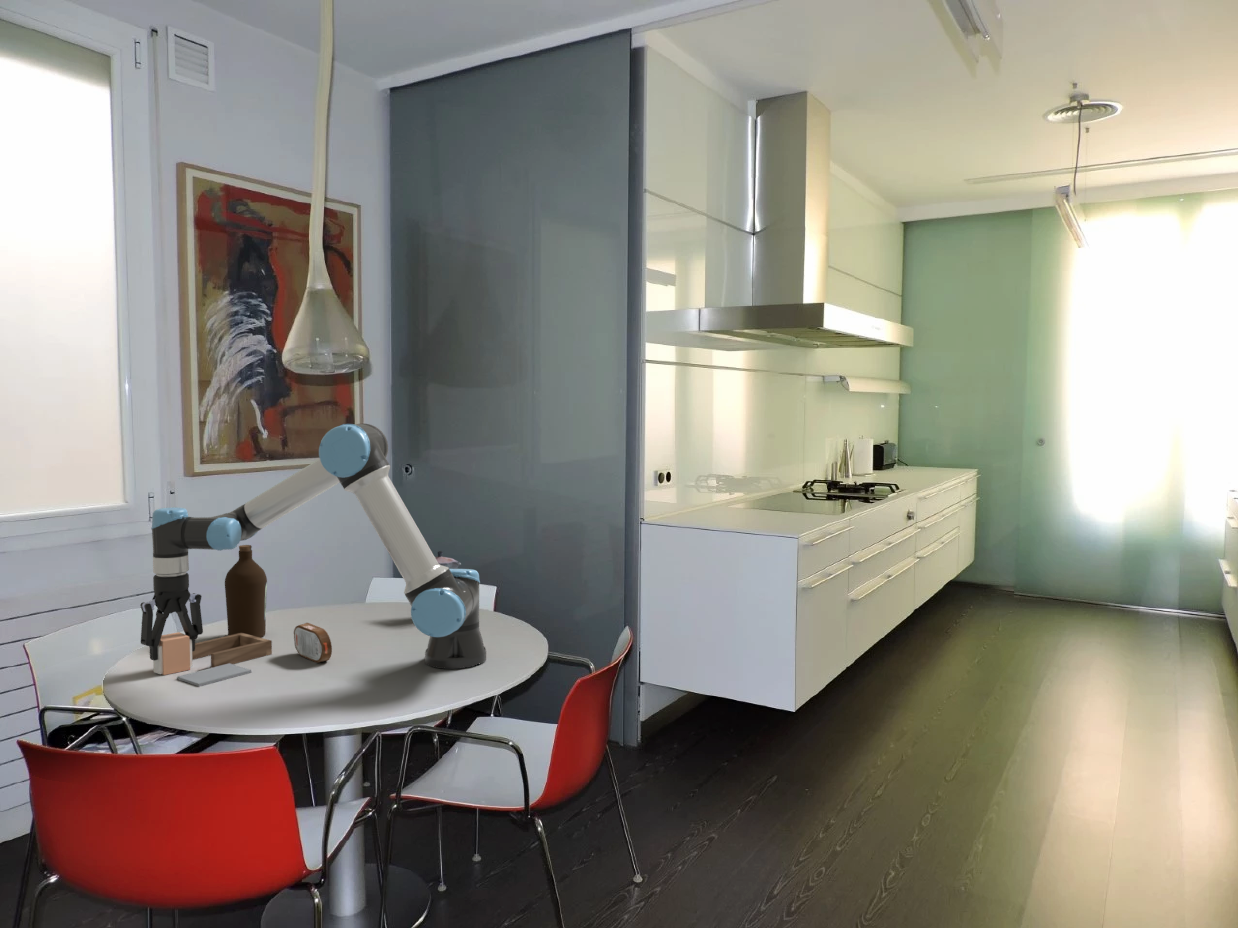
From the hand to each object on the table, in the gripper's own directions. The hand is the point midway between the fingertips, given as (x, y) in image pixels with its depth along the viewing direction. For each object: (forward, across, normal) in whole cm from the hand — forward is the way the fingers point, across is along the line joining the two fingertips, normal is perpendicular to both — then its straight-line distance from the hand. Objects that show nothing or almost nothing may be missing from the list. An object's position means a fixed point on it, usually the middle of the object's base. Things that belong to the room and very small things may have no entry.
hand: (173, 668), depth 210 cm
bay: (0, -14, 0) cm, 14 cm away
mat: (0, -3, +12) cm, 12 cm away
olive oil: (+1, -28, -14) cm, 32 cm away
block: (0, 0, -1) cm, 1 cm away
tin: (+1, -26, +18) cm, 31 cm away
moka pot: (+1, -74, +11) cm, 75 cm away
